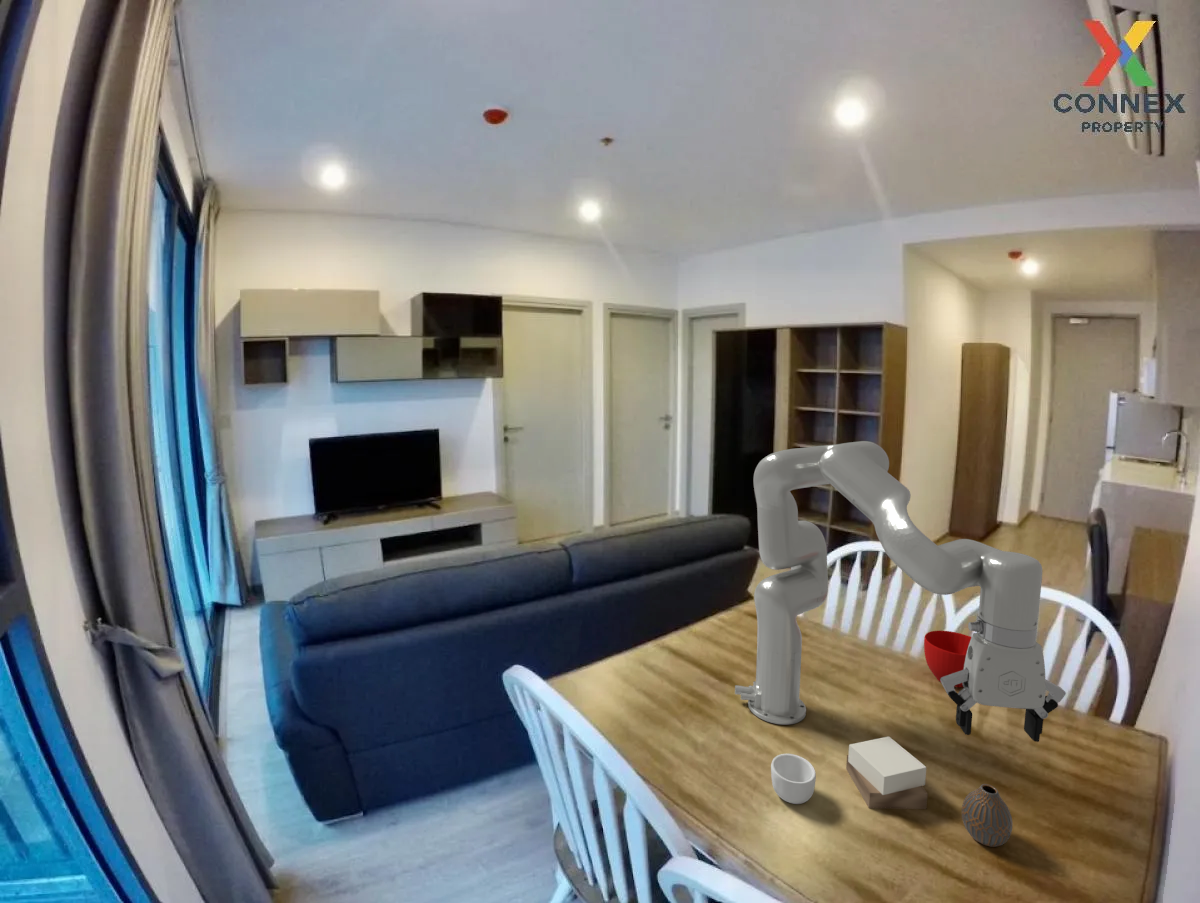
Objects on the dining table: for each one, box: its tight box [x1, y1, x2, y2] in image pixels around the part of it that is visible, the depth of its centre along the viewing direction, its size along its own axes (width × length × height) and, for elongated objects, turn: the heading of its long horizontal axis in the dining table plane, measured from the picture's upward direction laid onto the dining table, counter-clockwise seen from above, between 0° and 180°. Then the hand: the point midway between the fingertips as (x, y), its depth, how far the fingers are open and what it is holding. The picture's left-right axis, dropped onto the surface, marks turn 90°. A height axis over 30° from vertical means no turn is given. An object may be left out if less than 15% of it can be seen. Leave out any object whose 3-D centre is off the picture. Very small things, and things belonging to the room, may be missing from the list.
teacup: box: [770, 753, 817, 805], centre depth 105 cm, size 10×8×5 cm
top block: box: [847, 735, 927, 795], centre depth 106 cm, size 9×9×4 cm
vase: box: [961, 783, 1013, 848], centre depth 94 cm, size 7×7×9 cm
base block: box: [845, 754, 928, 810], centre depth 106 cm, size 10×10×4 cm
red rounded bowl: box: [923, 630, 972, 688], centre depth 143 cm, size 13×17×10 cm
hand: (997, 733), depth 92 cm, fingers open, 9 cm apart
